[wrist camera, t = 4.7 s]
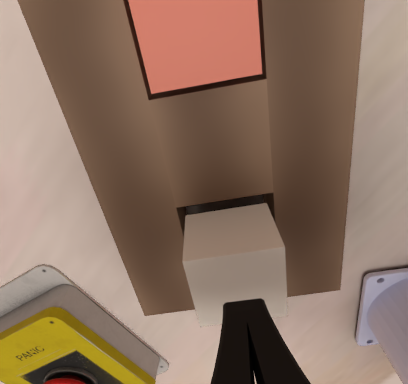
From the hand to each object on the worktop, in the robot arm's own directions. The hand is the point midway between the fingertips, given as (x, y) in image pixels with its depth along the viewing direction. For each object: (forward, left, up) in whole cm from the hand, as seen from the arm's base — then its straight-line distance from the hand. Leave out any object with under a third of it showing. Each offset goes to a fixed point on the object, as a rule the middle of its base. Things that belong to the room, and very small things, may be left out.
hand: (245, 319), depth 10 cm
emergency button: (+14, +11, -9) cm, 20 cm away
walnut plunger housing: (0, -4, -8) cm, 9 cm away
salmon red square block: (0, -9, -7) cm, 12 cm away
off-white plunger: (0, +1, -5) cm, 5 cm away
